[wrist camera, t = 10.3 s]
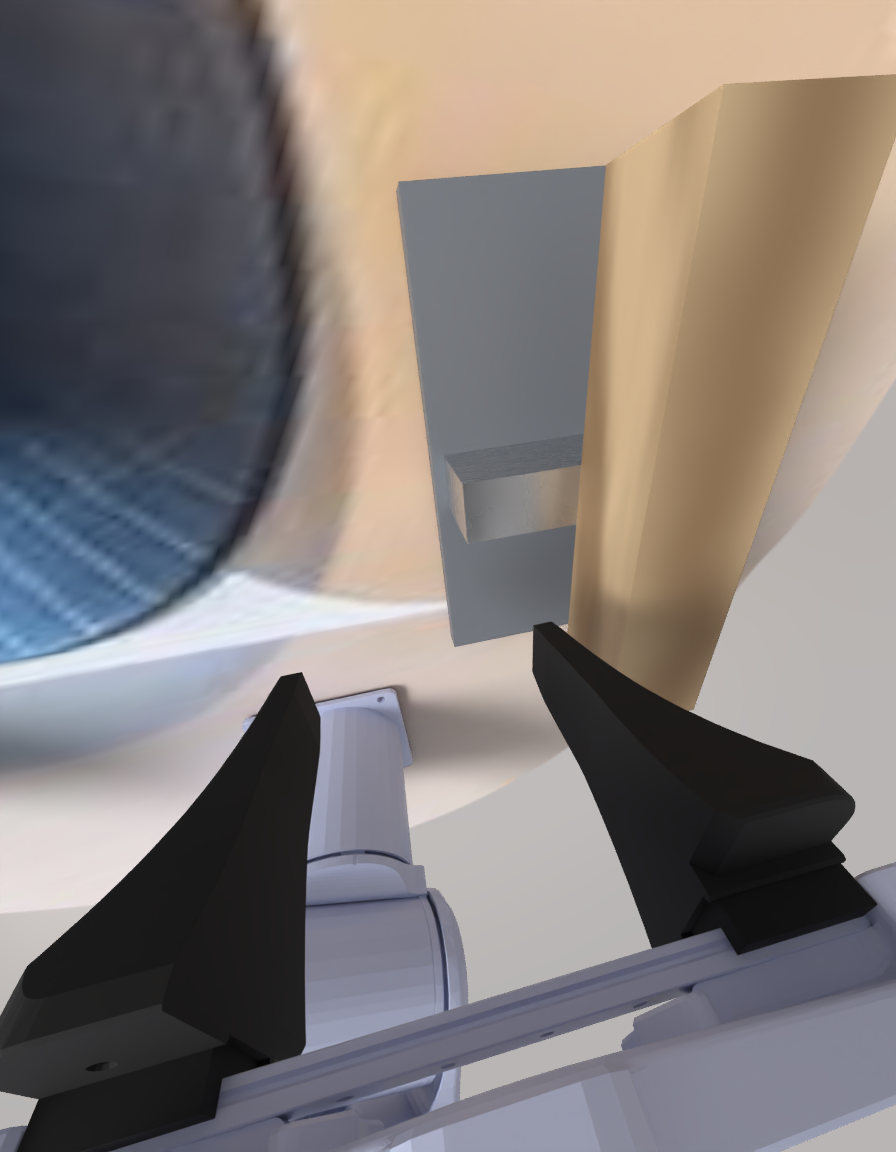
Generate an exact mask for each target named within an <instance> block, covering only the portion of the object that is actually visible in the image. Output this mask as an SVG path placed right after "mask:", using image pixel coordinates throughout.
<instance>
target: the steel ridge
mask: <svg viewBox="0 0 896 1152" xmlns="http://www.w3.org/2000/svg"><path fill="white" fill-rule="evenodd" d="M583 438H584V434H579V435H572V436H566V437H559V438H553V439H546V440H540V441H533V442H526V443H520V444H513V445H507V446H500V447H494V448H487V449H481V450H474V451H467V452H461V453H454V454H448V455H443V460H444V470H445V479H446V489H447V499H448V507H449V509H450V511H451V512H452V514H453V516H454V518H455V520H456V522H457V524H458V526H459V528H460V530H461V532H462V534H463V536H464V538H465V540H466V542H467V544H469V543H475V542H481V541H486V540H492V539H498V538H503V537H509V536H514V535H520V534H526V533H531V532H537V531H543V530H548V529H554V528H560V527H565V526H571V525H576V523H577V511H578V499H579V487H580V474H581V462H582V450H583Z"/></svg>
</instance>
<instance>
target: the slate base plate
mask: <svg viewBox="0 0 896 1152" xmlns="http://www.w3.org/2000/svg"><path fill="white" fill-rule="evenodd" d="M605 170H606V166H594V167H581V168H569V169H556V170H543V171H530V172H517V173H504V174H491V175H479V176H466V177H453V178H440V179H427V180H414V181H401V182H399V183H398V187H397V191H396V192H397V200H398V209H399V217H400V225H401V233H402V241H403V249H404V257H405V265H406V273H407V281H408V289H409V297H410V306H411V314H412V322H413V330H414V338H415V346H416V354H417V362H418V370H419V378H420V386H421V395H422V403H423V411H424V419H425V427H426V435H427V443H428V451H429V459H430V467H431V475H432V483H433V492H434V500H435V508H436V516H437V524H438V532H439V540H440V548H441V556H442V564H443V572H444V581H445V589H446V597H447V605H448V613H449V621H450V629H451V637H452V640H453V643H454V647H457V646H462V645H467V644H471V643H476V642H481V641H486V640H491V639H496V638H501V637H506V636H510V635H515V634H520V633H525V632H530V631H533V625H536V624H541V623H546V622H551V621H552V622H553V623H555V624H556V625H557V626H559V625H564V624H568V620H569V608H570V596H571V584H572V572H573V560H574V547H575V535H576V525H571V526H565V527H560V528H554V529H548V530H543V531H537V532H531V533H526V534H520V535H514V536H509V537H503V538H498V539H492V540H486V541H481V542H475V543H469V544H467V542H466V540H465V538H464V536H463V534H462V532H461V530H460V528H459V526H458V524H457V522H456V520H455V518H454V516H453V514H452V512H451V511H450V509H449V507H448V499H447V489H446V479H445V470H444V460H443V455H448V454H454V453H461V452H467V451H474V450H481V449H487V448H494V447H500V446H507V445H513V444H520V443H526V442H533V441H540V440H546V439H553V438H559V437H566V436H572V435H579V434H584V426H585V414H586V401H587V389H588V377H589V365H590V353H591V341H592V328H593V316H594V304H595V292H596V280H597V268H598V255H599V243H600V231H601V219H602V207H603V195H604V182H605Z"/></svg>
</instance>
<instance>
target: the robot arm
mask: <svg viewBox="0 0 896 1152" xmlns="http://www.w3.org/2000/svg"><path fill="white" fill-rule="evenodd" d="M532 672H533V674H534V677H535V679H536V682H537V685H538V687H539V690H540V692H541V694H542V697H543V699H544V701H545V703H546V705H547V707H548V709H549V711H550V713H551V714H552V716H553V718H554V720H555V722H556V724H557V726H558V727H559V729H560V731H561V733H562V735H563V736H564V738H565V740H566V742H567V744H568V746H569V747H570V749H571V751H572V753H573V755H574V757H575V758H576V760H577V762H578V764H579V766H580V768H581V770H582V772H583V774H584V776H585V778H586V780H587V783H588V785H589V787H590V790H591V792H592V794H593V796H594V799H595V801H596V803H597V806H598V808H599V811H600V813H601V815H602V818H603V820H604V823H605V825H606V828H607V830H608V833H609V835H610V837H611V840H612V842H613V845H614V847H615V850H616V853H617V855H618V858H619V860H620V863H621V865H622V868H623V870H624V873H625V876H626V878H627V881H628V884H629V886H630V889H631V892H632V894H633V897H634V900H635V903H636V905H637V908H638V911H639V913H640V916H641V919H642V921H643V924H644V927H645V930H646V933H647V936H648V939H649V942H650V944H651V947H652V949H649V950H646V951H642V952H639V953H636V954H633V955H629V956H626V957H623V958H619V959H616V960H613V961H609V962H606V963H603V964H600V965H596V966H593V967H589V968H586V969H583V970H580V971H576V972H573V973H570V974H566V975H563V976H560V977H556V978H554V979H550V980H547V981H544V982H540V983H537V984H533V985H530V986H527V987H523V988H520V989H517V990H513V991H510V992H507V993H504V994H500V995H497V996H494V997H490V998H487V999H484V1000H481V1001H477V1002H474V1003H471V1004H468V985H467V972H466V963H465V955H464V949H463V944H462V939H461V935H460V931H459V927H458V924H457V921H456V918H455V916H454V913H453V911H452V909H451V908H450V907H449V905H448V904H447V902H446V901H445V899H444V897H443V896H442V894H441V893H440V892H439V891H438V890H437V889H435V888H426V880H425V872H424V866H422V865H413V864H412V854H411V843H410V833H409V823H408V813H407V803H406V793H405V782H404V772H403V767H407V766H410V765H411V764H412V763H413V759H412V754H411V750H410V746H409V742H408V738H407V733H406V729H405V725H404V721H403V717H402V713H401V709H400V705H399V701H398V697H397V693H396V691H395V690H394V689H391V688H387V689H382V690H378V691H373V692H368V693H363V694H359V695H354V696H349V697H345V698H340V699H335V700H330V701H326V702H321V703H316V704H315V702H314V700H313V697H312V695H311V693H310V690H309V688H308V685H307V683H306V681H305V678H304V676H303V673H302V672H300V673H295V674H290V675H286V676H281V677H280V679H279V680H278V681H277V683H276V685H275V686H274V688H273V690H272V691H271V693H270V694H269V696H268V698H267V699H266V701H265V703H264V704H263V706H262V707H261V709H260V711H259V712H258V714H257V715H256V716H255V717H250V718H247V719H245V720H244V722H243V725H242V729H243V731H244V732H245V734H244V735H243V737H242V738H241V740H240V741H239V743H238V744H237V746H236V747H235V749H234V750H233V751H232V753H231V754H230V756H229V757H228V758H227V760H226V761H225V763H224V764H223V765H222V767H221V768H220V770H219V771H218V772H217V774H216V775H215V776H214V778H213V779H212V780H211V782H210V783H209V784H208V785H207V787H206V788H205V789H204V790H203V792H202V793H201V794H200V795H199V797H198V798H197V799H196V800H195V802H194V803H193V804H192V805H191V806H190V808H189V809H188V810H187V811H186V812H185V814H184V815H183V816H182V817H181V818H180V819H179V820H178V821H177V823H176V824H175V825H174V826H173V827H172V828H171V829H170V830H169V831H168V832H167V833H166V835H165V836H164V837H163V838H162V839H161V840H160V841H159V842H158V843H157V844H156V845H155V847H154V848H153V849H152V850H151V851H150V852H149V853H148V854H147V855H146V856H145V857H144V858H143V859H142V860H141V861H140V862H139V863H138V864H137V865H136V866H135V867H134V868H133V869H132V870H131V871H130V872H129V873H128V874H127V875H126V876H125V877H124V878H123V879H122V880H121V881H120V882H119V883H118V884H117V885H116V886H115V887H114V888H113V889H112V890H111V891H110V892H109V893H108V894H107V895H106V896H105V897H104V898H103V899H102V900H101V901H100V902H98V903H97V904H96V905H95V906H94V907H93V908H92V909H91V910H90V911H89V912H88V913H87V914H86V915H84V916H83V917H82V918H81V919H80V920H79V921H78V922H77V923H75V924H74V925H73V926H72V927H71V928H70V929H69V930H68V931H67V932H66V933H64V934H63V935H62V936H61V937H60V938H59V939H58V940H56V942H54V943H53V944H52V945H51V946H50V947H49V948H48V949H46V950H45V951H44V952H43V953H42V954H41V955H40V956H38V957H37V958H36V959H35V960H34V961H33V962H31V963H30V964H29V965H28V966H27V968H26V969H25V971H24V973H23V975H22V976H21V978H20V980H19V982H18V984H17V986H16V987H15V989H14V991H13V993H12V995H11V997H10V999H9V1001H8V1002H7V1004H6V1006H5V1008H4V1010H3V1012H2V1014H1V1016H0V1091H1V1092H6V1093H11V1094H16V1095H21V1096H25V1097H30V1098H36V1099H39V1100H38V1102H37V1105H36V1107H35V1110H34V1112H33V1114H32V1116H31V1119H30V1122H29V1124H28V1126H18V1127H11V1128H6V1129H2V1130H0V1152H780V1151H783V1150H785V1149H788V1148H790V1147H792V1146H795V1145H798V1144H800V1143H802V1142H805V1141H807V1140H809V1139H812V1138H815V1137H817V1136H820V1135H822V1134H824V1133H827V1132H829V1131H832V1130H834V1129H837V1128H839V1127H842V1126H844V1125H847V1124H849V1123H852V1122H854V1121H856V1120H859V1119H861V1118H864V1117H866V1116H869V1115H871V1114H874V1113H876V1112H879V1111H881V1110H884V1109H886V1108H888V1107H891V1106H893V1105H896V862H895V863H892V864H888V865H885V866H881V867H878V868H875V869H872V870H869V871H866V872H864V873H862V874H860V875H858V876H856V877H855V878H853V876H852V875H851V874H850V873H849V872H848V871H847V870H846V869H845V868H844V866H843V865H842V864H841V863H844V861H845V860H846V858H845V856H844V854H843V853H842V852H841V851H840V850H839V849H838V848H837V847H836V846H835V845H834V844H833V843H832V841H831V840H832V839H833V838H834V837H835V836H836V835H837V834H838V832H839V831H840V830H841V829H842V828H843V827H844V826H845V824H846V823H847V822H848V821H849V819H850V818H851V817H852V815H853V814H854V811H855V801H854V799H853V798H852V796H851V795H849V794H848V793H847V792H846V791H845V790H844V789H843V788H842V787H841V786H840V785H839V784H838V783H837V782H835V781H834V780H833V779H832V778H831V777H830V776H829V775H828V774H827V773H826V772H825V771H824V770H823V769H822V768H821V767H820V766H818V765H817V764H816V763H815V762H814V761H813V760H810V759H807V758H804V757H801V756H798V755H796V754H793V753H790V752H787V751H784V750H781V749H778V748H775V747H773V746H770V745H767V744H764V743H761V742H759V741H756V740H754V739H751V738H748V737H746V736H744V735H741V734H739V733H736V732H734V731H731V730H729V729H726V728H724V727H722V726H720V725H717V724H715V723H713V722H710V721H708V720H706V719H704V718H702V717H700V716H698V715H696V714H694V713H691V712H689V711H687V710H685V709H683V708H681V707H679V706H677V705H675V704H673V703H671V702H670V701H668V700H666V699H664V698H662V697H661V696H659V695H657V694H655V693H653V692H652V691H650V690H648V689H646V688H645V687H643V686H641V685H640V684H638V683H636V682H635V681H633V680H632V679H630V678H628V677H627V676H625V675H624V674H622V673H621V672H619V671H618V670H616V669H615V668H613V667H612V666H610V665H609V664H608V663H606V662H605V661H603V660H602V659H601V658H599V657H598V656H596V655H595V654H594V653H592V652H591V651H590V650H588V649H587V648H586V647H584V646H583V645H582V644H580V643H579V642H578V641H577V640H575V639H574V638H573V637H571V636H570V635H569V634H568V633H566V632H565V631H564V630H562V629H561V628H560V627H559V626H557V625H556V624H555V623H553V622H552V621H551V622H546V623H541V624H536V625H533V668H532ZM379 697H382V698H379ZM677 997H678V998H677ZM674 998H676V999H674ZM671 999H674V1000H671ZM668 1000H671V1001H669V1002H667V1003H665V1004H663V1005H661V1006H659V1007H657V1008H654V1009H653V1010H650V1011H648V1012H646V1013H644V1014H642V1015H640V1016H637V1017H635V1018H634V1022H633V1026H634V1030H633V1032H631V1033H630V1034H629V1035H628V1036H627V1037H626V1038H624V1039H623V1040H622V1044H621V1047H622V1049H623V1051H620V1052H616V1053H612V1054H608V1055H605V1056H601V1057H597V1058H594V1059H590V1060H587V1061H583V1062H580V1063H576V1064H572V1065H569V1066H565V1067H562V1068H559V1069H555V1070H553V1071H549V1072H546V1073H542V1074H539V1075H536V1076H532V1077H529V1078H526V1079H523V1080H520V1081H517V1082H514V1083H511V1084H508V1085H505V1086H502V1087H498V1088H495V1089H492V1090H490V1091H486V1092H484V1093H481V1094H478V1095H475V1096H472V1097H470V1098H466V1099H464V1100H461V1101H460V1075H461V1066H464V1065H467V1064H470V1063H473V1062H476V1061H480V1060H483V1059H486V1058H489V1057H492V1056H495V1055H498V1054H501V1053H505V1052H507V1051H511V1050H514V1049H517V1048H520V1047H524V1046H527V1045H529V1044H533V1043H536V1042H539V1041H542V1040H545V1039H549V1038H552V1037H555V1036H558V1035H561V1034H564V1033H567V1032H570V1031H574V1030H577V1029H580V1028H583V1027H586V1026H589V1025H592V1024H595V1023H599V1022H602V1021H605V1020H608V1019H611V1018H614V1017H618V1016H621V1015H623V1014H627V1013H630V1012H633V1011H636V1010H639V1009H643V1008H646V1007H649V1006H652V1005H655V1004H658V1003H662V1002H665V1001H668Z"/></svg>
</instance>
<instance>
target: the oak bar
mask: <svg viewBox="0 0 896 1152" xmlns="http://www.w3.org/2000/svg"><path fill="white" fill-rule="evenodd" d="M895 137H896V74H893V75H876V76H858V77H841V78H823V79H805V80H788V81H770V82H753V83H735V84H723V85H722V86H721V87H719V88H718V89H716V90H715V91H713V92H712V93H710V94H709V95H707V96H706V97H704V98H703V99H702V100H700V101H699V102H697V103H696V104H694V105H693V106H691V107H690V108H688V109H687V110H686V111H684V112H683V113H681V114H680V115H678V116H677V117H675V118H674V119H672V120H671V121H670V122H668V123H667V124H665V125H664V126H662V127H661V128H659V129H658V130H656V131H655V132H654V133H652V134H651V135H649V136H648V137H646V138H645V139H643V140H642V141H640V142H639V143H638V144H636V145H635V146H633V147H632V148H630V149H629V150H627V151H626V152H624V153H623V154H622V155H620V156H619V157H617V158H616V159H614V160H613V161H611V162H610V163H608V164H607V165H606V170H605V182H604V195H603V207H602V219H601V231H600V243H599V255H598V268H597V280H596V292H595V304H594V316H593V328H592V341H591V353H590V365H589V377H588V389H587V401H586V414H585V426H584V438H583V450H582V462H581V474H580V487H579V499H578V511H577V523H576V535H575V547H574V560H573V572H572V584H571V596H570V608H569V620H568V634H569V635H570V636H571V637H573V638H574V639H575V640H577V641H578V642H579V643H580V644H582V645H583V646H584V647H586V648H587V649H588V650H590V651H591V652H592V653H594V654H595V655H596V656H598V657H599V658H601V659H602V660H603V661H605V662H606V663H608V664H609V665H610V666H612V667H613V668H615V669H616V670H618V671H619V672H621V673H622V674H624V675H625V676H627V677H628V678H630V679H632V680H633V681H635V682H636V683H638V684H640V685H641V686H643V687H645V688H646V689H648V690H650V691H652V692H653V693H655V694H657V695H659V696H661V697H662V698H664V699H666V700H668V701H670V702H671V703H673V704H675V705H677V706H679V707H681V708H683V709H685V710H687V711H690V710H693V709H694V707H695V704H696V701H697V698H698V695H699V693H700V690H701V687H702V684H703V681H704V678H705V676H706V673H707V670H708V667H709V664H710V661H711V659H712V655H713V653H714V650H715V647H716V644H717V642H718V639H719V636H720V633H721V630H722V627H723V625H724V622H725V619H726V616H727V613H728V610H729V608H730V604H731V602H732V599H733V596H734V593H735V591H736V588H737V585H738V582H739V579H740V576H741V574H742V571H743V568H744V565H745V562H746V559H747V557H748V554H749V551H750V548H751V545H752V543H753V540H754V537H755V534H756V531H757V528H758V526H759V523H760V520H761V517H762V514H763V511H764V509H765V506H766V503H767V500H768V497H769V494H770V492H771V489H772V486H773V483H774V480H775V477H776V475H777V472H778V469H779V466H780V463H781V460H782V458H783V455H784V452H785V449H786V446H787V443H788V441H789V438H790V435H791V432H792V429H793V426H794V424H795V421H796V418H797V415H798V412H799V409H800V407H801V404H802V401H803V398H804V395H805V392H806V390H807V387H808V384H809V381H810V378H811V375H812V373H813V370H814V367H815V364H816V361H817V358H818V356H819V353H820V350H821V347H822V344H823V341H824V339H825V336H826V333H827V330H828V327H829V324H830V322H831V319H832V316H833V313H834V310H835V307H836V305H837V302H838V299H839V296H840V293H841V290H842V288H843V285H844V282H845V279H846V276H847V273H848V271H849V268H850V265H851V262H852V259H853V256H854V254H855V251H856V248H857V245H858V242H859V239H860V237H861V234H862V231H863V228H864V225H865V222H866V220H867V217H868V214H869V211H870V208H871V205H872V203H873V200H874V197H875V194H876V191H877V188H878V186H879V183H880V180H881V177H882V174H883V171H884V169H885V166H886V163H887V160H888V157H889V154H890V152H891V149H892V146H893V143H894V140H895Z"/></svg>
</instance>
